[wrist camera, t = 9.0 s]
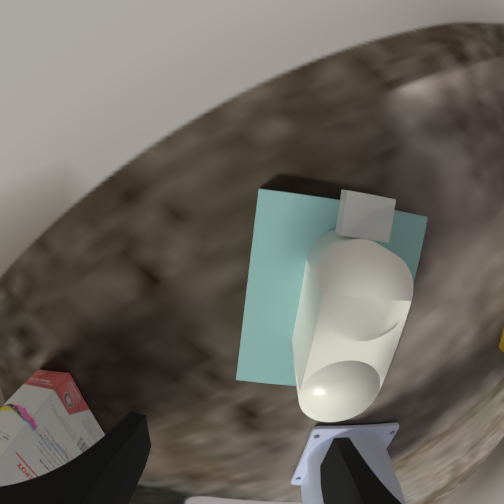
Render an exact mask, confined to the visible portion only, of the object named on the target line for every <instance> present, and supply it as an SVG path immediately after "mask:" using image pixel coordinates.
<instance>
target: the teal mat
mask: <svg viewBox="0 0 504 504" xmlns="http://www.w3.org/2000/svg"><path fill="white" fill-rule="evenodd" d="M339 204H340V200H337V199H331V198H325V197H318V196H312V195H305V194H298V193H291V192H284V191H276V190H268V189H260V188H259V192H258V200H257V208H256V217H255V225H254V233H253V242H252V250H251V258H250V267H249V275H248V283H247V292H246V300H245V308H244V317H243V325H242V334H241V342H240V350H239V359H238V367H237V376H236V380H242V381H250V382H259V383H269V384H280V385H293V386H297V384H296V376H295V369H294V361H293V354H292V347H291V342H292V336H293V331H294V326H295V321H296V316H297V311H298V306H299V300H300V295H301V289H302V284H303V278H304V272H305V266H306V260H307V256H308V253H309V250H310V248H311V246H312V245H313V243H314V242H315V241H316V240H317V239H318V238H319V237H320V236H321V235H323V234H324V233H326V232H328V231H330V230H333V229H336V224H337V217H338V211H339ZM427 219H428V217H425V216H421V215H417V214H412V213H408V212H403V211H398V210H394V216H393V222H392V228H391V233H390V239H389V243H387V242H381V241H374V240H373V241H374V242H376V243H378V244H379V245H381V246H383V247H384V248H386V249H388V250H389V251H391V252H392V253H394V254H396V255H397V256H399V257H400V258H401V259H402V260H403V261H404V262H405V263H406V265H407V266H408V268H409V270H410V272H411V275H412V279H413V283H414V280H415V276H416V272H417V267H418V263H419V259H420V254H421V250H422V245H423V240H424V235H425V230H426V224H427Z"/></svg>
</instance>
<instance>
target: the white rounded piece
mask: <svg viewBox="0 0 504 504" xmlns="http://www.w3.org/2000/svg"><path fill="white" fill-rule="evenodd" d="M395 203H396V199H391V198H386V197H381V196H376V195H371V194H365V193H360V192H355V191H349V190H341V197H340V204H339V211H338V217H337V224H336V229H333V230H330V231H328V232H326V233H324V234H323V235H321V236H320V237H319V238H318V239H317V240H316V241H315V242H314V243H313V245H312V246H311V248H310V250H309V253H308V256H307V260H306V266H305V272H304V278H303V284H302V289H301V295H300V300H299V306H298V311H297V316H296V321H295V326H294V331H293V336H292V342H291V347H292V354H293V361H294V369H295V376H296V384H297V391H298V399H299V405H300V407H301V409H302V411H303V412H304V413H305V414H306V415H307V416H308V417H310V418H312V419H314V420H317V421H321V422H339V421H343V420H347V419H350V418H352V417H354V416H356V415H358V414H360V413H361V412H363V411H364V410H365V409H367V408H368V407H369V406H370V405H371V404H372V403H373V401H374V400H375V399H376V397H377V395H378V393H379V391H380V388H381V386H382V384H383V381H384V379H385V376H386V374H387V371H388V369H389V366H390V364H391V361H392V358H393V356H394V353H395V350H396V348H397V345H398V342H399V339H400V336H401V333H402V330H403V327H404V324H405V321H406V318H407V315H408V311H409V308H410V305H411V301H412V297H413V279H412V275H411V272H410V270H409V268H408V266H407V265H406V263H405V262H404V261H403V260H402V259H401V258H400V257H399V256H397V255H396V254H394V253H392V252H391V251H389V250H388V249H386V248H384V247H383V246H381V245H379V244H378V243H376V242H374V241H381V242H387V243H389V239H390V233H391V228H392V222H393V216H394V210H395ZM373 240H374V241H373Z"/></svg>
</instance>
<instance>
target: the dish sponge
mask: <svg viewBox="0 0 504 504" xmlns="http://www.w3.org/2000/svg"><path fill="white" fill-rule="evenodd" d="M499 349H500V350H501V351H502V352H503V353H504V328H503V332H502V336H501V340H500V343H499Z"/></svg>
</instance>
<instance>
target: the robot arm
mask: <svg viewBox="0 0 504 504" xmlns="http://www.w3.org/2000/svg"><path fill="white" fill-rule="evenodd" d="M399 427H400V426H399V424H398V423H396V422H395V423H384V424H370V425H347V426H316V427H314V428H313V429H312V432H311V434H310V437H309V439H308V442H307V444H306V447H305V449H304V452H303V454H302V456H301V459H300V461H299V464H298V466H297V468H296V470H295V473H294V475H293V477H292V479H291V484H293V485H301V493H302V504H406V502H405V499H404V496H403V493H402V490H401V487H400V484H399V482H398V479H397V476H396V473H395V470H394V468H393V465H392V462H391V459H390V457H389V454H388V451H387V447H388V445H389V444H390V442H391V441H392V439H393V437H394V436H395V434H396V432H397V431H398V429H399ZM317 434H318V435H317ZM150 448H151V443H150V437H149V432H148V426H147V419H146V416H145V415H142V414H138V413H134V412H130V413H129V414H128V415H127V416H126V417H124V418H123V419H122V420H121V421H120V422H119V423H118V424H117V425H116V426H115V427H114V428H113V429H112V430H110V431H109V432H108V433H107V434H106V435H105V436H104V437H102V438H101V439H100V440H99V441H97V442H96V443H95V444H94V445H92V446H91V447H90V448H88V449H87V450H86V451H84V452H83V453H81V454H80V455H79V456H77V457H76V458H74V459H72V460H71V461H69V462H67V463H66V464H64V465H62V466H60V467H58V468H56V469H54V470H52V471H50V472H48V473H46V474H43V475H41V476H38V477H35V478H32V479H29V480H26V481H23V482H20V483H16V484H11V485H6V486H0V504H129V501H130V499H131V497H132V495H133V492H134V490H135V488H136V486H137V484H138V481H139V479H140V477H141V475H142V472H143V470H144V468H145V465H146V462H147V459H148V455H149V451H150Z"/></svg>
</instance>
